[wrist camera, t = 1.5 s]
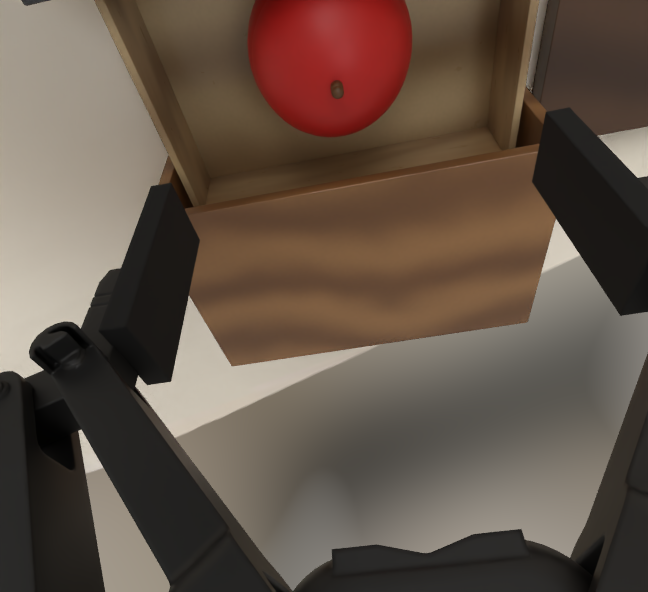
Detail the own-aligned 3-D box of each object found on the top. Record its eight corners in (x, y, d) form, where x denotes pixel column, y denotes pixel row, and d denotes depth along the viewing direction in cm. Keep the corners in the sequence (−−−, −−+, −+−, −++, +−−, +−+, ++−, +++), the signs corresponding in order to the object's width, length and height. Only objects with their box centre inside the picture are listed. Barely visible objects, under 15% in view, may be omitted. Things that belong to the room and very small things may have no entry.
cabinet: (175, 132, 34) (145, 223, 27) (508, 66, 32) (576, 144, 24) (240, 276, 46) (231, 366, 38) (486, 235, 44) (528, 322, 36)
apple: (231, -51, 25) (210, 5, 18) (392, -89, 24) (437, -45, 17) (272, 106, 31) (269, 192, 24) (400, 80, 31) (434, 161, 24)
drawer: (42, -161, 22) (-66, -147, 15) (557, -299, 20) (699, -355, 13) (196, 180, 36) (176, 265, 30) (502, 122, 34) (555, 199, 28)
